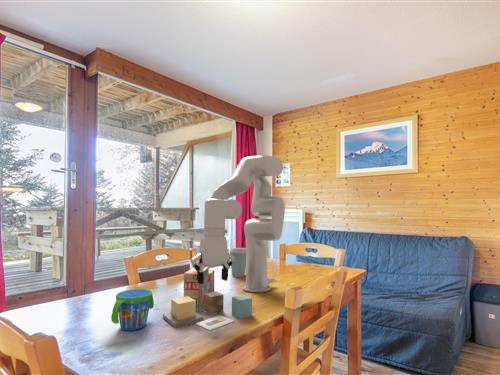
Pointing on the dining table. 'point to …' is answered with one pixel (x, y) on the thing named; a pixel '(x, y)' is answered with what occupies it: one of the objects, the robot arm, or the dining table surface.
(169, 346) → the dining table surface
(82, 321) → the dining table surface
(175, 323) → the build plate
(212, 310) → the walnut brick
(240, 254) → the disposable coffee cup
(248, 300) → the teal brick
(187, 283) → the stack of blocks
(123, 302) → the snack cup
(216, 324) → the tile
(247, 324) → the dining table surface
